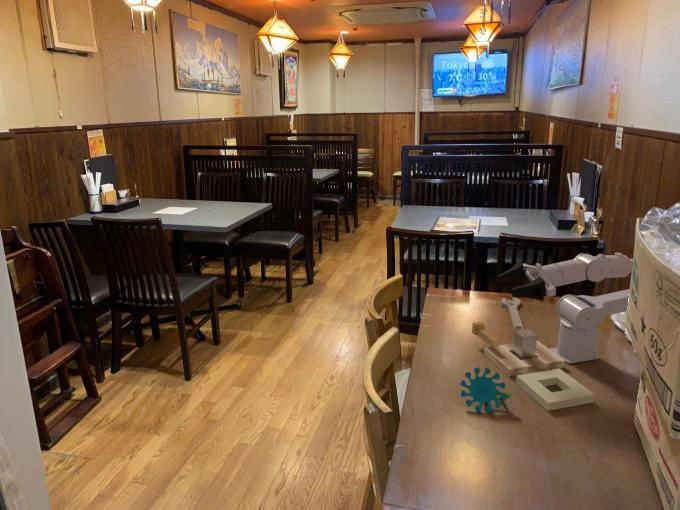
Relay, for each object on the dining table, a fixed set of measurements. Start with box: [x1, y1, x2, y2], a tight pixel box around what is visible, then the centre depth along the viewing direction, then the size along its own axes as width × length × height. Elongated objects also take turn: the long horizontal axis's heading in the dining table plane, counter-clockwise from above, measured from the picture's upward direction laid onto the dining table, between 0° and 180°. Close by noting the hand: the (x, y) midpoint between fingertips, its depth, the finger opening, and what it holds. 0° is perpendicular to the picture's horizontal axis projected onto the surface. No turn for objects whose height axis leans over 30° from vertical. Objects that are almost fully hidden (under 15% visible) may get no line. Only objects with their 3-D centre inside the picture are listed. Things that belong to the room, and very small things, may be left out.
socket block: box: [483, 340, 566, 377], centre depth 131 cm, size 16×12×2 cm
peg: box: [512, 328, 538, 360], centre depth 130 cm, size 4×4×8 cm
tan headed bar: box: [471, 321, 500, 348], centre depth 136 cm, size 3×10×3 cm, turn 15°
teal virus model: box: [459, 367, 513, 413], centre depth 113 cm, size 11×6×10 cm
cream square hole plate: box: [515, 368, 596, 412], centre depth 117 cm, size 12×12×2 cm
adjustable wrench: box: [500, 296, 525, 332], centre depth 160 cm, size 25×6×2 cm, turn 164°
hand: (505, 286), depth 125 cm, fingers open, 7 cm apart
